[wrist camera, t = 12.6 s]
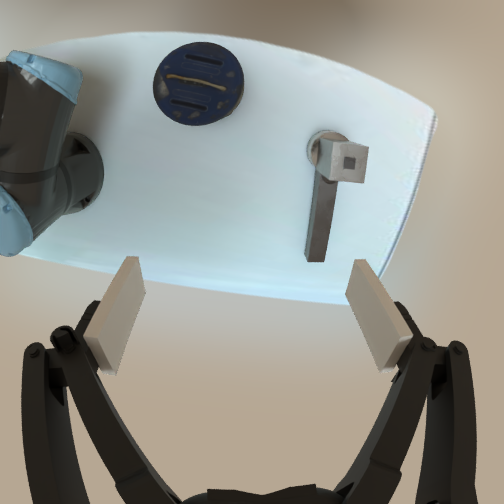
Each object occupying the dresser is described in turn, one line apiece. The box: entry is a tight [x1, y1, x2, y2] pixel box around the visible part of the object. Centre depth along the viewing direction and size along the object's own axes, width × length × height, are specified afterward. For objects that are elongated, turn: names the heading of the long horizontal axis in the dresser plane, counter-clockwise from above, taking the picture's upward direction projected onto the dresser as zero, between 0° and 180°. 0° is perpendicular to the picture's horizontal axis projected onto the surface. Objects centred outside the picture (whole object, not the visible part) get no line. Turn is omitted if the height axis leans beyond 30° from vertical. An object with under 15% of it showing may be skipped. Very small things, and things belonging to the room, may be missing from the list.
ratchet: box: [305, 130, 349, 262], centre depth 44 cm, size 7×24×7 cm, turn 178°
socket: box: [316, 137, 369, 183], centre depth 37 cm, size 5×5×7 cm
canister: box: [153, 42, 244, 126], centre depth 30 cm, size 10×10×18 cm
